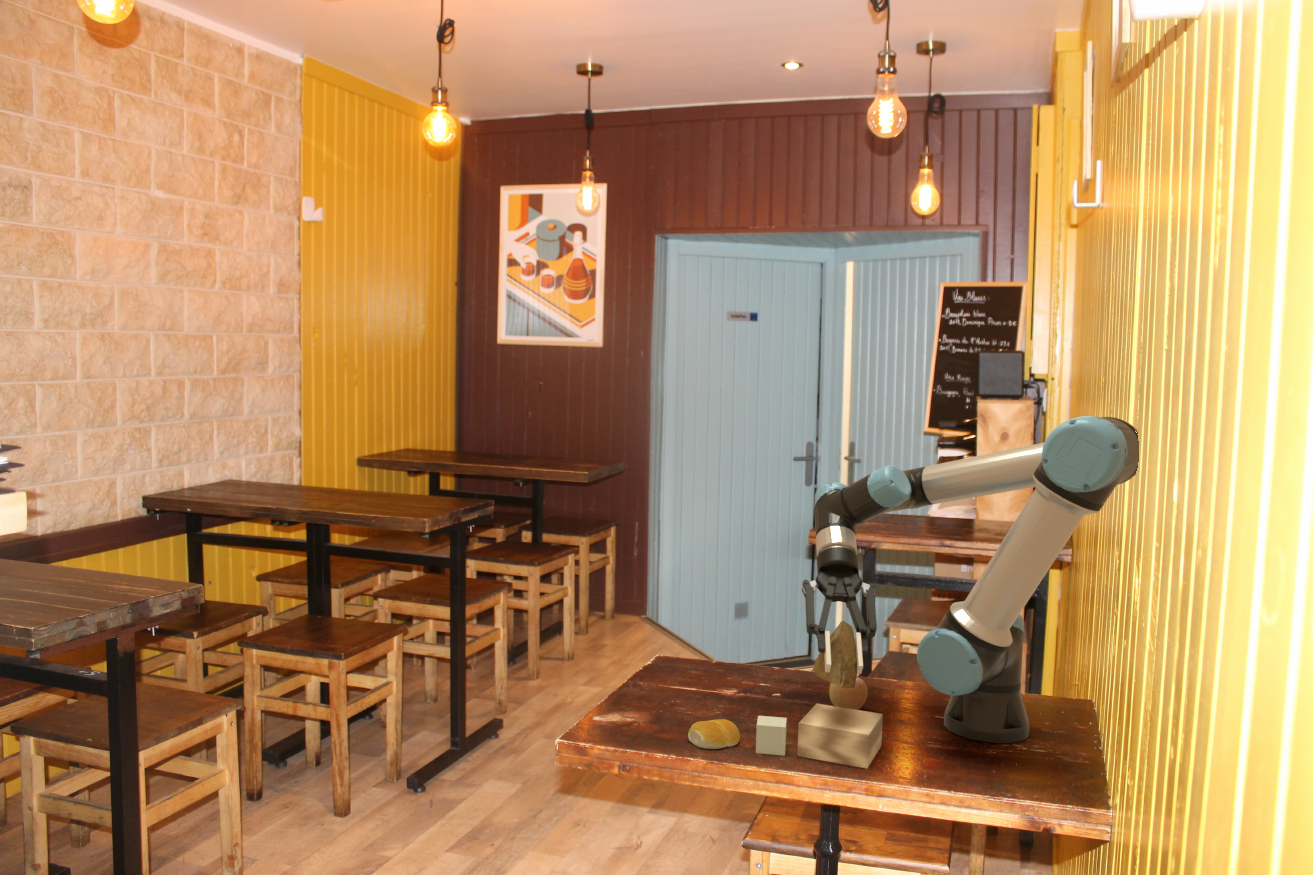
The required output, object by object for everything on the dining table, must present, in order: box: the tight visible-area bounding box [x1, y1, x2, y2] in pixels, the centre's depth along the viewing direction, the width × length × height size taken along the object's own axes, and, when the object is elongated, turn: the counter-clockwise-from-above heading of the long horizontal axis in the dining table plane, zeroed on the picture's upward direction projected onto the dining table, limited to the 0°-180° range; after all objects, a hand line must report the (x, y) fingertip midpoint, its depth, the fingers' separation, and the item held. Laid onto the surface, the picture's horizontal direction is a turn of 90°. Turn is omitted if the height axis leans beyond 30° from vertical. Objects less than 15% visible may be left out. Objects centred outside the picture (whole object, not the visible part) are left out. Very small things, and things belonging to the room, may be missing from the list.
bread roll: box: [687, 718, 741, 750], centre depth 172 cm, size 8×9×4 cm
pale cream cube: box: [755, 715, 788, 756], centre depth 169 cm, size 5×5×5 cm
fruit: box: [828, 676, 869, 710], centre depth 191 cm, size 8×7×8 cm
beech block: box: [797, 703, 884, 769], centre depth 169 cm, size 12×12×6 cm
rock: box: [811, 620, 858, 688], centre depth 169 cm, size 11×9×10 cm
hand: (844, 668), depth 165 cm, fingers closed on rock, 5 cm apart
